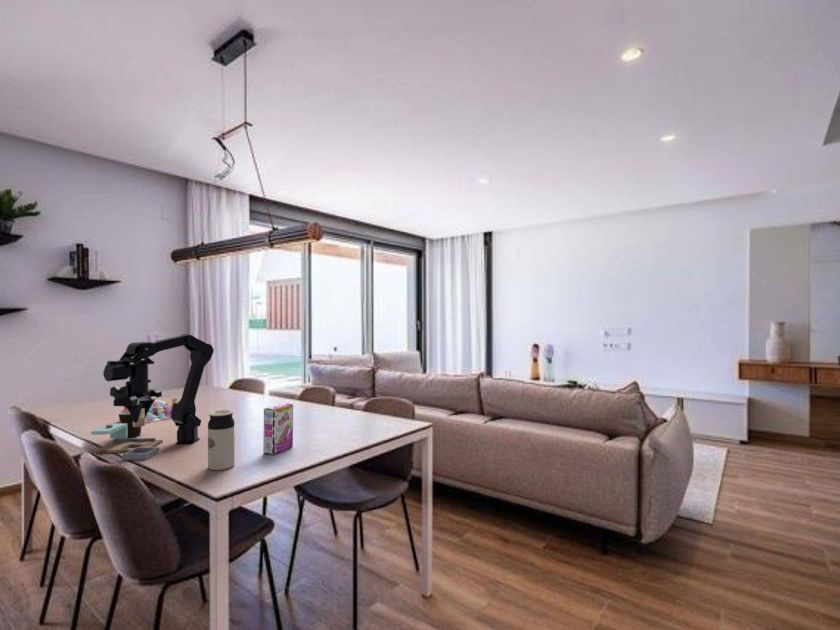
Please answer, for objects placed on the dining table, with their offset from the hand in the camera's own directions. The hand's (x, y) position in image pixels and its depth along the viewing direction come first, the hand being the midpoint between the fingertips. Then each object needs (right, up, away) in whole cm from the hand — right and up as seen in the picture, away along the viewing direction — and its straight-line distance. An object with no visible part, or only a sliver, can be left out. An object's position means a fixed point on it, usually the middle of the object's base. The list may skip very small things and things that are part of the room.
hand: (139, 421), depth 159 cm
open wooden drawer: (-9, -12, +9) cm, 18 cm away
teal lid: (-16, -10, +9) cm, 21 cm away
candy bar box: (+48, -12, +5) cm, 50 cm away
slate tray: (+2, -12, -1) cm, 12 cm away
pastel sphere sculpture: (-30, -13, +59) cm, 67 cm away
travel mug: (+35, -12, -12) cm, 39 cm away
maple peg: (0, -2, 0) cm, 2 cm away
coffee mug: (-18, -12, +24) cm, 32 cm away
